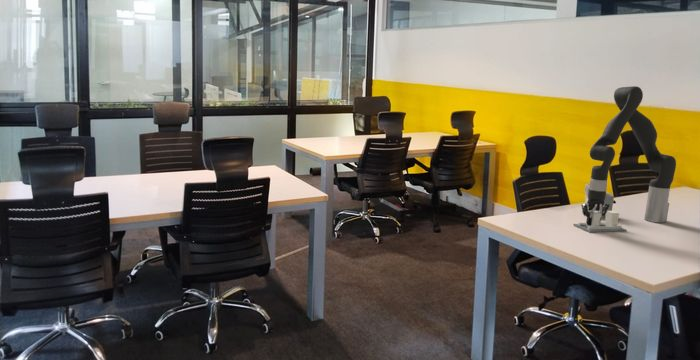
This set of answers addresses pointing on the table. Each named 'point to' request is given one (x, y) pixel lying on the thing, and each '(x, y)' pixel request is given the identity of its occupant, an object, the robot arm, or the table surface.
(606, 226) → the rail plate
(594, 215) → the block
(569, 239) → the table surface
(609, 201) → the circuit breaker
